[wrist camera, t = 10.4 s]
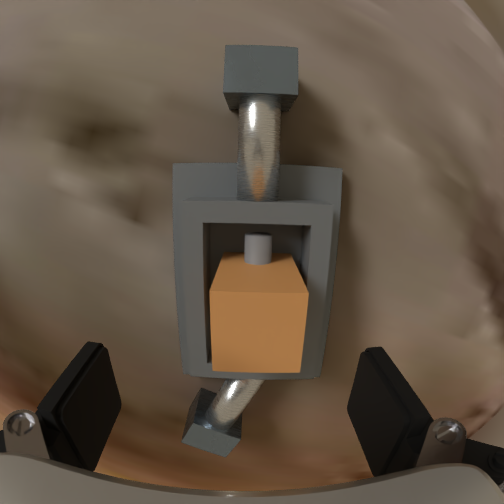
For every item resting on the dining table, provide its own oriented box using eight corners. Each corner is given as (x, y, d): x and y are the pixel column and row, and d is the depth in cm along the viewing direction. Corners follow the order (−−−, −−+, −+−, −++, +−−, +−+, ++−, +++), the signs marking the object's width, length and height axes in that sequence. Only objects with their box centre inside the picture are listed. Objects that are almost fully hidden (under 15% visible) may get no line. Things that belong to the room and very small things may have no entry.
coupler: (224, 332, 22) (213, 393, 15) (224, 227, 20) (208, 255, 13) (285, 333, 22) (296, 395, 15) (291, 229, 20) (311, 258, 13)
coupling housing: (186, 365, 24) (175, 397, 20) (177, 164, 20) (159, 161, 16) (317, 368, 24) (327, 400, 20) (337, 168, 20) (357, 167, 16)
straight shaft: (286, 197, 20) (295, 203, 16) (227, 195, 20) (220, 201, 16) (289, 72, 18) (297, 47, 14) (231, 70, 18) (225, 45, 14)
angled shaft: (229, 337, 23) (224, 370, 19) (274, 355, 23) (278, 391, 19) (189, 407, 25) (181, 442, 21) (228, 422, 25) (225, 457, 21)
